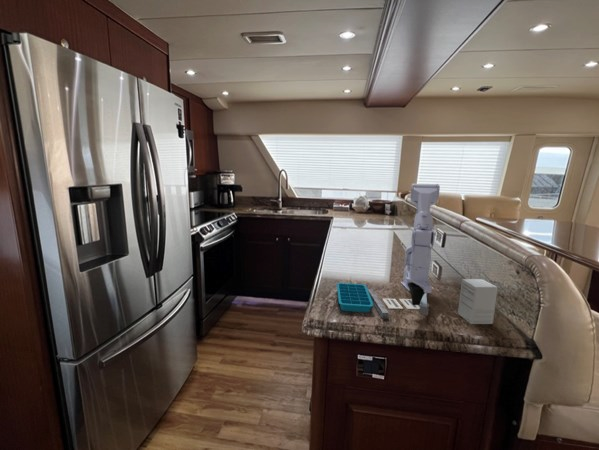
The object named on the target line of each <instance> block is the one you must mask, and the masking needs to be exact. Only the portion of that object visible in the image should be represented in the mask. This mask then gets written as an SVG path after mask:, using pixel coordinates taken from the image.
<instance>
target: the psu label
mask: <svg viewBox="0 0 599 450" xmlns="http://www.w3.org/2000/svg"><path fill="white" fill-rule="evenodd" d="M381 300H382V301H383V303H384V304H385V305H386V307H387V308H388V309H389V310H404V308H403V306H402V305H401V304H400V302H399V301H398V300H397V299H396V298H381Z"/></svg>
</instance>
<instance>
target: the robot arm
mask: <svg viewBox="0 0 599 450" xmlns="http://www.w3.org/2000/svg"><path fill="white" fill-rule="evenodd" d="M440 190H441V189H440V184H438V183H436V184H435V183H433V184H432V183H431V184H429V183H416V182H415V183H412V184H411V187H410V197H409V198H410V203H411V204H413V205H414V206H415V208H416V214H415V216H414V220H413V230H412V231H411V240H410V245H408V246H406V248H405V253H404V254H405V255H404V263H403V264H404V265H405V267H404V269H403V278H402V281H400V284H402V286H403V287H404V288H405V289H406V290H407V291H408V292H410V299H412V304H413V305H419V304H420V302H421V299H422V297H423V295H424V294H425V293H427V294H428V293H429V294H432V290H433V289H432V288H433V287H432V285H431V284H430V280H429V275H430V274H429V273H430V267H431V260H432V248H433V247H434V245H435V244H434V243H435V231H434V226H433V225H434V222H433V221H434V220H433V219H434V217H433V215H432V213H430V212H431V211H430V210H431V206H434V205H436V204H437V202H438V200H439V196H440Z"/></svg>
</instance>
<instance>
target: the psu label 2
mask: <svg viewBox="0 0 599 450" xmlns="http://www.w3.org/2000/svg"><path fill="white" fill-rule="evenodd" d="M398 300H399V301H400V303H401V304H402V305H403V306H404V307H405V308H406V309H407V310H419V311H420V307H419V306H418V305H413V304H412V299H411V298H398Z"/></svg>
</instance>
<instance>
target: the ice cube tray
mask: <svg viewBox="0 0 599 450" xmlns="http://www.w3.org/2000/svg"><path fill="white" fill-rule="evenodd" d="M336 289H337V298H338V304H339V305H340V310H341V311H344V312H355V313H356V312H358V313H370V312H371V310H372V309H371V308H373V307H375V306H374V304H373V302H372V300H371V297H370V295H369V292H368V289H369V288H368V287H367V285H366V284H363V283H349V282H348V283H347V282H338V283H336Z"/></svg>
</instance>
